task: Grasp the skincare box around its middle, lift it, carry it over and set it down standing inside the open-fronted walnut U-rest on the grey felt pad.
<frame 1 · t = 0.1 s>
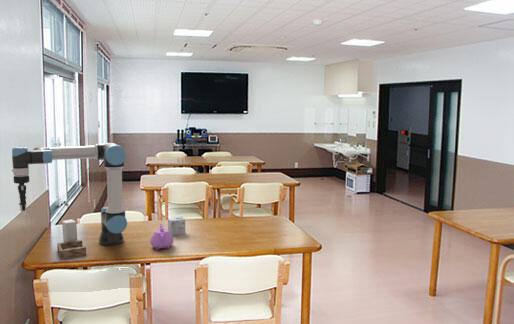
hand: (23, 213, 236), 28 cm above the table, fingers open, 13 cm apart
light bulb box: (176, 234, 295), on the table
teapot: (161, 246, 270), on the table
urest: (71, 252, 255), on the table
skincare box: (70, 245, 268), on the table
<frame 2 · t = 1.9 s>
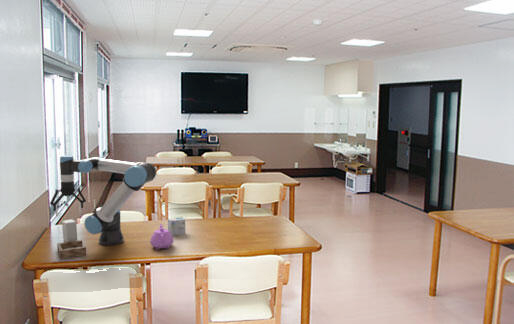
hand: (68, 214, 265), 20 cm above the table, fingers open, 13 cm apart
nothing on the table moved.
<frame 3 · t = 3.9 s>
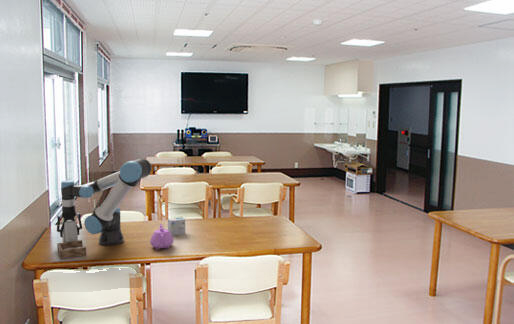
hand: (70, 241, 268), 3 cm above the table, fingers closed on skincare box, 7 cm apart
skincare box: (70, 245, 268), on the table, touching gripper
everything else where it was.
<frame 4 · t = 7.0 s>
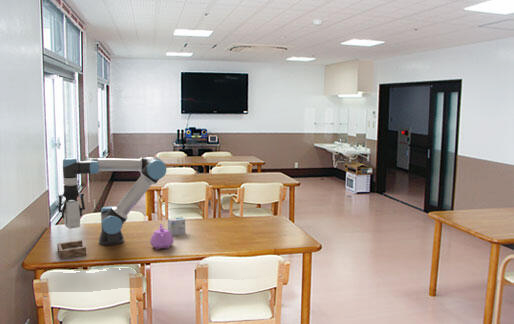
hand: (72, 222, 253), 19 cm above the table, fingers closed on skincare box, 7 cm apart
skincare box: (72, 226, 253), point 16 cm above the table, touching gripper
everything else where it was.
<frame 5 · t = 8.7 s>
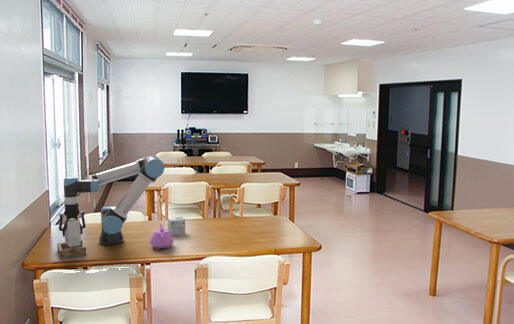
hand: (72, 240, 255), 7 cm above the table, fingers closed on skincare box, 7 cm apart
skincare box: (72, 245, 255), point 5 cm above the table, touching gripper
everything else where it was.
when the fingers open (6 cm above the table, at t = 10.0 s): skincare box drops 2 cm, resting on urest.
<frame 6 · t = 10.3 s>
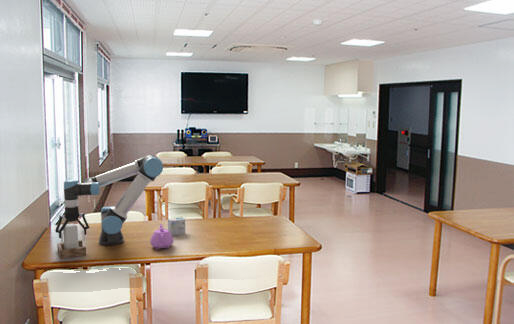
hand: (73, 241, 255), 7 cm above the table, fingers open, 11 cm apart
skincare box: (71, 250, 255), point 1 cm above the table, touching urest
everything else where it was.
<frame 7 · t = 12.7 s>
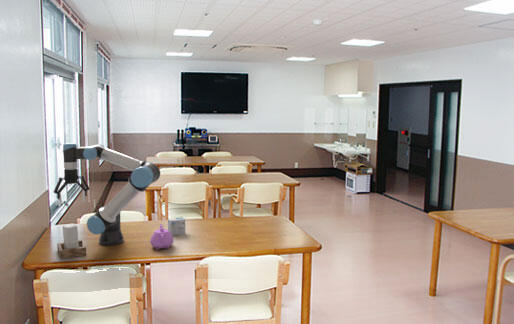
hand: (72, 202, 261), 28 cm above the table, fingers open, 13 cm apart
nothing on the table moved.
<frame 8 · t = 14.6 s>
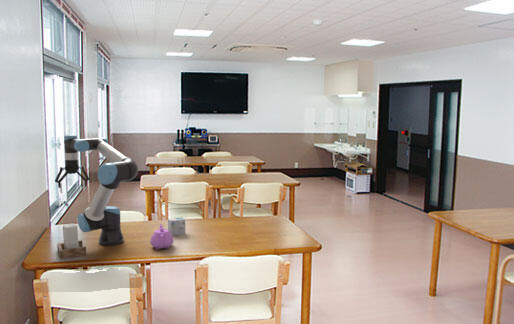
hand: (72, 191, 274), 32 cm above the table, fingers open, 13 cm apart
nothing on the table moved.
at the end: skincare box inside the target area on the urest (1.2 cm from its centre), point 1.0 cm above the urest's base; skincare box tilted 0°; the gripper is holding nothing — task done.
